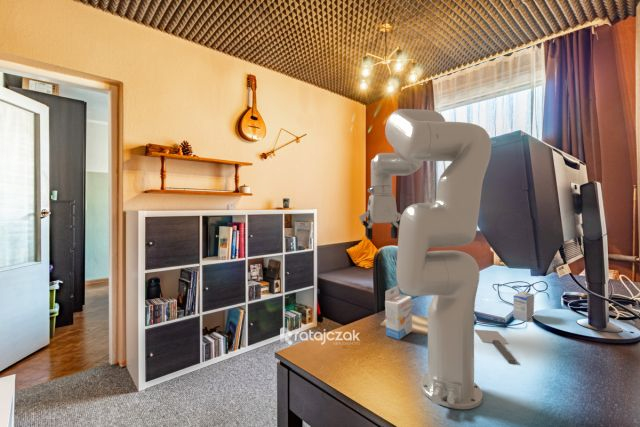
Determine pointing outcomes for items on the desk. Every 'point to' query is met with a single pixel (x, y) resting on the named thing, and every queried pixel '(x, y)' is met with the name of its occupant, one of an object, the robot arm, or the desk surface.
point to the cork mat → (416, 325)
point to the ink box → (398, 313)
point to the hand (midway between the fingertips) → (381, 238)
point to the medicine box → (523, 306)
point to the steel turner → (496, 343)
